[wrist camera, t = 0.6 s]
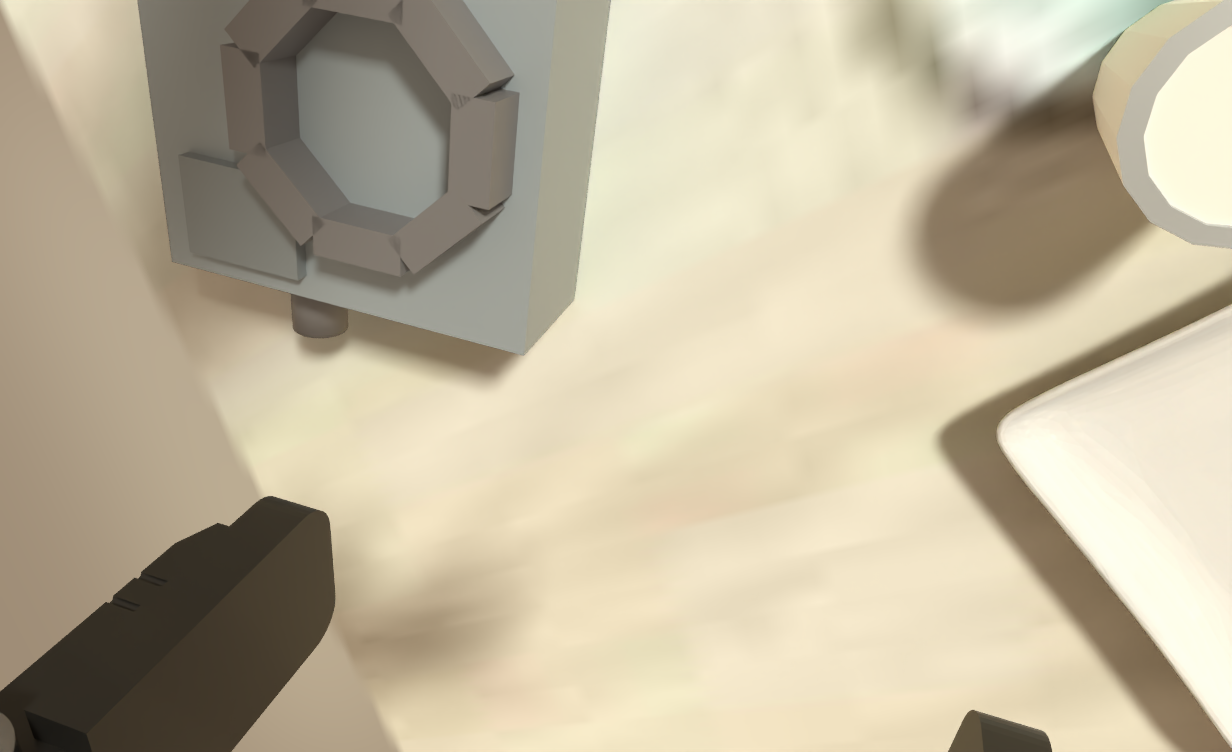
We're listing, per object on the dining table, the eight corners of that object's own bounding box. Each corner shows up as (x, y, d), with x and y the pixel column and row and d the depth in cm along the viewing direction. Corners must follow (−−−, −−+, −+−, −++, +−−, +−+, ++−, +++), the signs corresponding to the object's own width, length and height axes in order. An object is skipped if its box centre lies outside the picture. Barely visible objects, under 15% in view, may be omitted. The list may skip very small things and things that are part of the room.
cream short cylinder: (1065, 196, 30) (1107, 259, 24) (1078, -11, 28) (1129, 3, 22) (1296, 178, 28) (1404, 243, 22) (1335, -50, 25) (1471, -46, 19)
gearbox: (238, -110, 34) (73, -123, 27) (616, -46, 31) (537, -42, 24) (267, 278, 42) (146, 343, 35) (567, 357, 39) (498, 445, 32)
